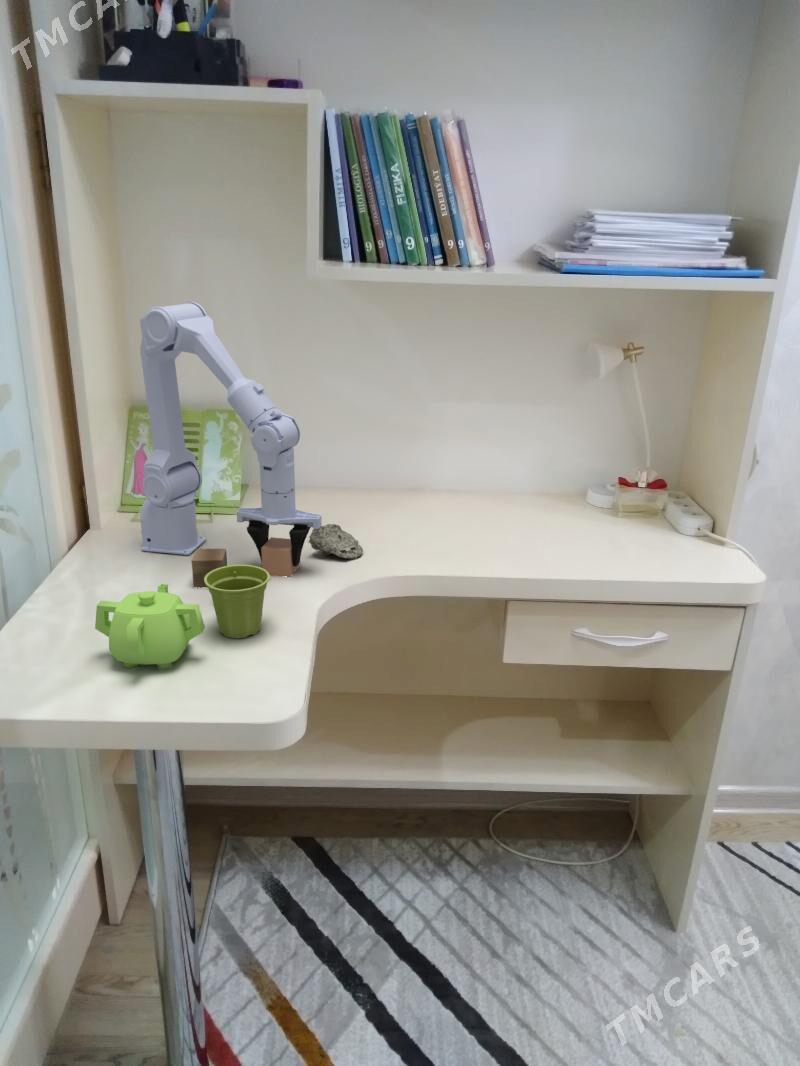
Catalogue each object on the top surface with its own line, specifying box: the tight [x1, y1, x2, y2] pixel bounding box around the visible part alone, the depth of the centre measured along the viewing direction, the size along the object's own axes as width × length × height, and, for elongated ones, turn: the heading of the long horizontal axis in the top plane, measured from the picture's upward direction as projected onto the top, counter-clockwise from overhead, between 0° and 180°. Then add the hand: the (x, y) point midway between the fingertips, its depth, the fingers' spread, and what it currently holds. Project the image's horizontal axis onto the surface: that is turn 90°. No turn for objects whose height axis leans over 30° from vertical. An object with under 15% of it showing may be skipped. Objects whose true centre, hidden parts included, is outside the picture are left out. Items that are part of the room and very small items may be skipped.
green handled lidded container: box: [94, 583, 206, 670], centre depth 114 cm, size 12×12×10 cm
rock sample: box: [307, 523, 364, 559], centre depth 151 cm, size 10×8×9 cm
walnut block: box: [191, 548, 228, 589], centre depth 138 cm, size 5×5×5 cm
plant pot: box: [204, 564, 271, 639], centre depth 122 cm, size 9×9×9 cm
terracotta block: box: [261, 536, 300, 578], centre depth 143 cm, size 5×5×5 cm
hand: (280, 562), depth 144 cm, fingers closed on terracotta block, 5 cm apart
